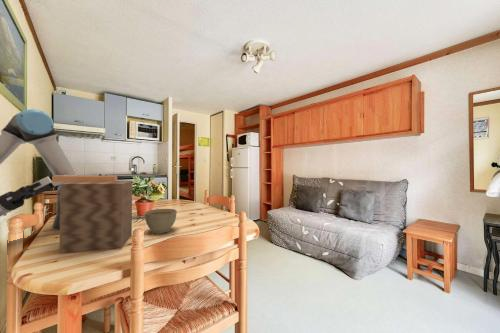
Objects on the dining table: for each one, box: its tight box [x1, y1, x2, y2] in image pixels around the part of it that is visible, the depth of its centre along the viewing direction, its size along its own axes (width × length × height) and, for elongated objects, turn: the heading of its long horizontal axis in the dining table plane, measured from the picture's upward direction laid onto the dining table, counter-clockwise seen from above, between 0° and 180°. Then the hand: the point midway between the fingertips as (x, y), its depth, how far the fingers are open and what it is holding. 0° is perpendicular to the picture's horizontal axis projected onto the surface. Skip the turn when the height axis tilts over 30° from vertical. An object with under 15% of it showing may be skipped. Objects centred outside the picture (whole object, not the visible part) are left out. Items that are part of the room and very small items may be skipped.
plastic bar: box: [51, 175, 118, 182], centre depth 99 cm, size 24×4×2 cm, turn 107°
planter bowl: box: [144, 208, 178, 235], centre depth 116 cm, size 16×16×11 cm
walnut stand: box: [58, 179, 133, 255], centre depth 97 cm, size 22×18×28 cm
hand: (59, 178), depth 96 cm, fingers open, 13 cm apart
